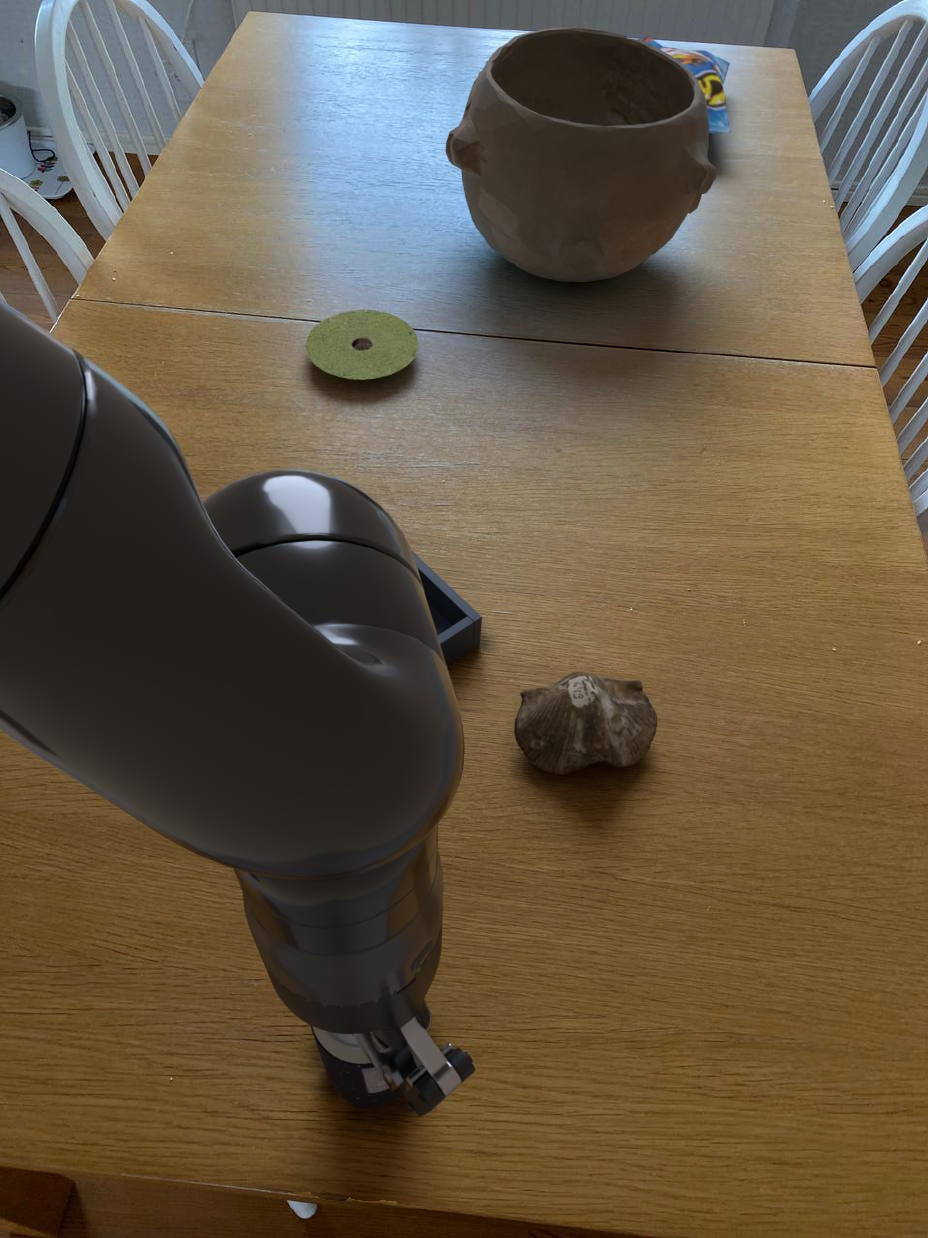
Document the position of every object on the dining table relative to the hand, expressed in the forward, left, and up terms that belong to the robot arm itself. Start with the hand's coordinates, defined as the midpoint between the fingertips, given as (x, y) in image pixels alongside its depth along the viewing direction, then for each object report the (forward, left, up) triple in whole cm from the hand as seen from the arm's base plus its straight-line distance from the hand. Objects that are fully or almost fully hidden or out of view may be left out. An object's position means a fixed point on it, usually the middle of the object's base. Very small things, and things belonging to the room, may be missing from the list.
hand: (368, 1023), depth 51 cm
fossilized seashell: (+25, +8, -8) cm, 27 cm away
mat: (+39, +54, -8) cm, 67 cm away
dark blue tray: (+15, +26, -8) cm, 31 cm away
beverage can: (0, 0, -8) cm, 8 cm away
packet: (+102, +71, -8) cm, 125 cm away
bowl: (+69, +55, -8) cm, 89 cm away
